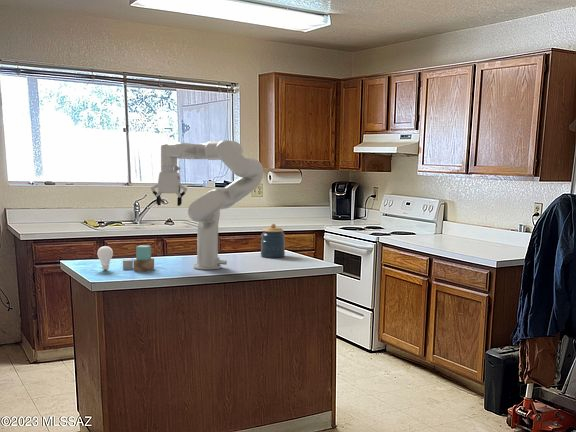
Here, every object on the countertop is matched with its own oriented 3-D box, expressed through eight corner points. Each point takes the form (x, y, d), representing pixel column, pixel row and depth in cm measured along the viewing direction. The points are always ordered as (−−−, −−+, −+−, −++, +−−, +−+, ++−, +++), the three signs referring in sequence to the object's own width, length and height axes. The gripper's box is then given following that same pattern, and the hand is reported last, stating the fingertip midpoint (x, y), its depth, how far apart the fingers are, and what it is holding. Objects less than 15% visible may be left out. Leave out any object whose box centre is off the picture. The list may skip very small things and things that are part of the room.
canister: (269, 259, 273) (270, 225, 272) (255, 255, 283) (256, 223, 282) (289, 257, 281) (290, 224, 279) (275, 253, 291) (276, 222, 290)
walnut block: (154, 269, 241) (154, 258, 241) (149, 271, 234) (149, 260, 234) (139, 268, 242) (139, 257, 241) (133, 271, 235) (133, 260, 234)
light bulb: (94, 270, 234) (94, 245, 233) (109, 268, 239) (108, 244, 238) (101, 272, 230) (101, 247, 229) (116, 270, 234) (115, 246, 233)
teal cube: (151, 258, 240) (151, 245, 239) (147, 260, 235) (147, 247, 234) (140, 258, 240) (140, 245, 240) (136, 260, 235) (136, 246, 235)
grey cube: (132, 267, 243) (132, 259, 242) (132, 269, 239) (132, 260, 239) (123, 267, 242) (123, 259, 242) (123, 269, 238) (122, 260, 238)
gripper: (189, 169, 253) (188, 205, 254) (153, 169, 254) (153, 204, 255) (185, 169, 245) (184, 206, 247) (148, 169, 246) (148, 205, 248)
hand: (169, 205), depth 251 cm, fingers open, 9 cm apart
